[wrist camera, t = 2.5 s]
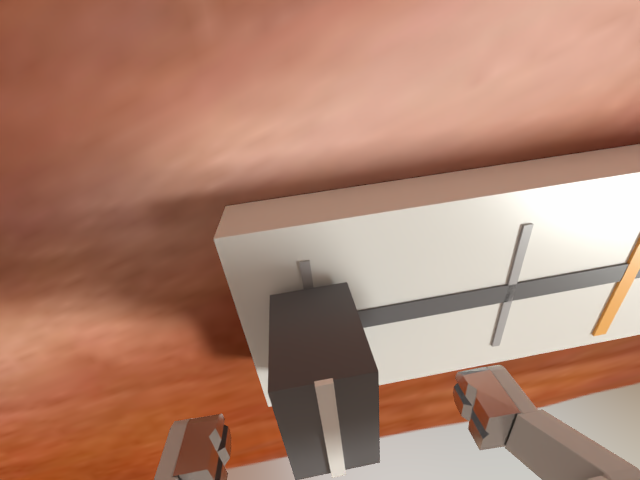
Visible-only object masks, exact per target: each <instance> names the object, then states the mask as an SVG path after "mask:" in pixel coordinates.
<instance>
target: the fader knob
mask: <svg viewBox="0 0 640 480" xmlns="http://www.w3.org/2000/svg"><path fill="white" fill-rule="evenodd" d="M268 395H269V398H270V401H271V404H272V407H273V411H274V414H275V417H276V420H277V423H278V426H279V430H280V433H281V436H282V439H283V442H284V445H285V448H286V452H287V455H288V458H289V461H290V464H291V467H292V470H293V474H294V477H295V480H299V479H304V478H309V477H313V476H318V475H323V474H328V473H331V476H332V478H333V477H338V476H343V475H346V472H345V470H346V469H351V468H356V467H361V466H365V465H370V464H375V463H379V462H380V454H379V453H380V450H379V449H380V447H379V373H378V369H377V366H376V363H375V360H374V357H373V354H372V352H371V349H370V346H369V343H368V340H367V337H366V334H365V332H364V329H363V326H362V323H361V320H360V317H359V315H358V312H357V309H356V306H355V303H354V300H353V298H352V295H351V292H350V289H349V286H348V283H347V282H344V283H338V284H332V285H326V286H321V287H315V288H309V289H303V290H297V291H291V292H285V293H280V294H274V295H270V306H269V356H268Z"/></svg>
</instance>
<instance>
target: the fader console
mask: <svg viewBox="0 0 640 480" xmlns="http://www.w3.org/2000/svg"><path fill="white" fill-rule="evenodd" d="M214 242H215V245H216V248H217V252H218V255H219V258H220V261H221V264H222V267H223V270H224V273H225V276H226V279H227V282H228V285H229V288H230V291H231V294H232V297H233V300H234V303H235V306H236V309H237V313H238V316H239V319H240V322H241V325H242V328H243V331H244V334H245V337H246V340H247V343H248V346H249V349H250V352H251V355H252V358H253V361H254V364H255V367H256V370H257V373H258V377H259V380H260V383H261V386H262V389H263V392H264V395H265V398H266V401H267V404H268V407H270V406H272V404H271V401H270V398H269V395H268V356H269V306H270V295H274V294H280V293H285V292H291V291H297V290H303V289H309V288H315V287H321V286H326V285H332V284H338V283H344V282H347V283H348V286H349V289H350V292H351V295H352V298H353V300H354V303H355V306H356V309H357V312H358V315H359V317H360V320H361V323H362V326H363V329H364V332H365V334H366V337H367V340H368V343H369V346H370V349H371V352H372V354H373V357H374V360H375V363H376V366H377V369H378V373H379V385H383V384H388V383H393V382H398V381H403V380H409V379H414V378H419V377H424V376H429V375H434V374H439V373H444V372H450V371H455V370H460V369H465V368H470V367H475V366H480V365H486V364H491V363H496V362H501V361H506V360H511V359H516V358H521V357H527V356H532V355H537V354H542V353H547V352H552V351H557V350H563V349H568V348H573V347H578V346H583V345H588V344H593V343H598V342H604V341H609V340H614V339H619V338H624V337H629V336H634V335H640V144H636V145H629V146H623V147H616V148H609V149H603V150H596V151H589V152H583V153H576V154H569V155H563V156H556V157H549V158H543V159H536V160H529V161H522V162H516V163H509V164H502V165H496V166H489V167H482V168H476V169H469V170H462V171H456V172H449V173H442V174H436V175H429V176H422V177H416V178H409V179H402V180H396V181H389V182H382V183H376V184H369V185H362V186H356V187H349V188H342V189H336V190H329V191H322V192H316V193H309V194H302V195H296V196H289V197H282V198H276V199H269V200H262V201H256V202H249V203H242V204H236V205H229V206H225V209H224V212H223V214H222V217H221V220H220V222H219V225H218V228H217V230H216V233H215V236H214Z"/></svg>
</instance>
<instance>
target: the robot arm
mask: <svg viewBox="0 0 640 480" xmlns="http://www.w3.org/2000/svg"><path fill="white" fill-rule="evenodd" d="M455 379H456V381H457V384H456V385H455V386H454V389H453V396H454V401H455V404H456V406H457V409H458V410H459V412H460V414H461V416H462V417H464V418H465V419H466V420H468V421H469V431H470V433H471V435H472V436H473V439H474V440H475V442H476V444H477V446H478V448H479V449H480V450H484V449H490V448H497V447H503V446H506V447H505V448H506V449H507V450H508V451H509V452H511V453H512V454H513V455H514V456H515V457H516V458H518V459H519V460H520V461H521V462H522V463H523V464H525V465H526V466H527V467H528V468H529V469H530V470H532V471H533V472H534V473H535V474H536V475H537V476H539V477H540V478H541V479H542V480H640V470H639V469H638V468H637V467H635V466H633V465H632V464H630V463H628V462H627V461H625V460H624V459H622V458H620V457H619V456H617V455H616V454H614V453H612V452H611V451H609V450H607V449H605V448H604V447H602V446H601V445H599V444H598V443H596V442H594V441H593V440H591V439H589V438H588V437H586V436H584V435H583V434H581V433H580V432H578V431H576V430H575V429H573V428H572V427H570V426H568V425H567V424H565V423H563V422H562V421H560V420H558V419H557V418H555V417H554V416H552V415H550V414H549V413H547V412H546V411H544V410H537V408H536V407H535V406H534V405H533V403H532V402H531V401H530V399H529V398H528V397H527V396H526V394H525V393H524V392H523V390H522V389H521V388H520V387H519V385H518V384H517V383H516V382H515V380H514V379H513V378H512V376H511V375H510V374H509V373H508V371H507V370H506V369H505V368H504V367H503V366H501V365H495V366H489V367H482V368H477V369H472V370H467V371H462V372H458V373H457V374H456V378H455ZM224 420H225V419H224V417H223V415H222V414H216V415H211V416H205V417H199V418H193V419H186V420H180V421H175V422H174V423H173V425H172V426H171V428H170V431H169V434H168V437H167V441H166V444H165V447H164V450H163V453H162V456H161V459H160V462H159V466H158V469H157V472H156V475H155V478H154V480H227V476H228V473H227V471H226V469H225V467H224V466H225V464H226V463H227V461H228V460H229V458H230V453H231V434H230V430H229V428H228V426H226V425H224Z"/></svg>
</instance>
